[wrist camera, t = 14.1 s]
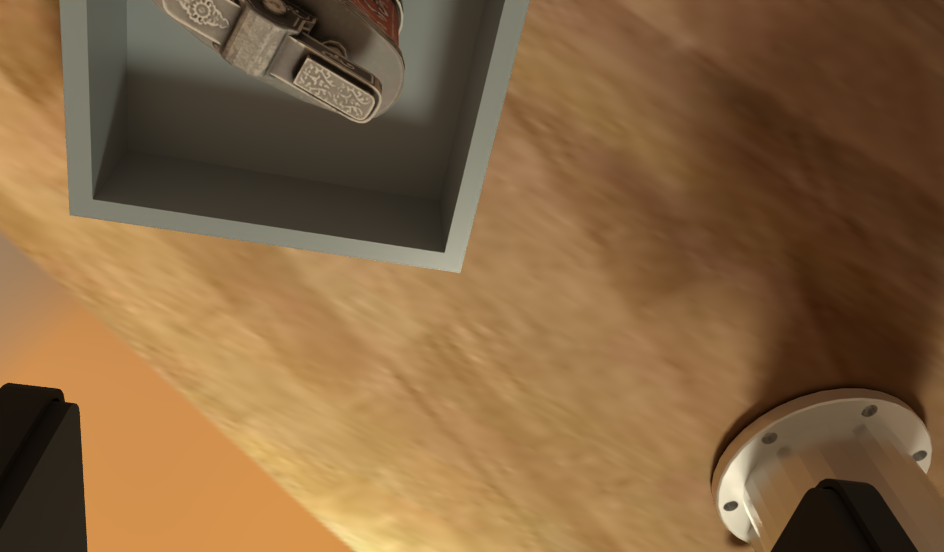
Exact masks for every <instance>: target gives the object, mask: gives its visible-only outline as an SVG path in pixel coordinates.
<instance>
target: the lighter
mask: <svg viewBox="0 0 944 552" xmlns="http://www.w3.org/2000/svg"><path fill="white" fill-rule="evenodd" d="M151 1H152V2H153V3H154V4H155V5H156V6H157V7H158V8H159V9H160V10H162V11H163V12H164V13H165V14H167V15H168V16H169V17H170V18H172V19H173V20H174V21H175V22H177V23H178V24H179V25H180V26H181V27H183V28H184V29H185V30H186V31H188V32H189V33H190V34H191V35H193V36H194V37H195V38H196V39H198V40H199V41H200V42H201V43H202V44H204V45H206V46H207V47H209V48H210V49H212V50H213V51H215V52H216V53H218V54H219V55H221V56H222V57H223V59H224V60H226V61H227V62H228V63H229V64H231V65H232V66H234V67H235V68H237V69H239V70H241V71H242V72H244V73H246V74H248V75H251V76H253V77H255V78H257V79H259V80H262V81H264V82H266V83H268V84H270V85H272V86H274V87H276V88H278V89H280V90H282V91H284V92H286V93H288V94H290V95H292V96H294V97H296V98H298V99H300V100H303V101H305V102H308V103H311V104H314V105H316V106H319V107H322V108H325V109H328V110H330V111H333V112H336V113H339V114H341V115H343V116H345V117H346V118H348V119H350V120H352V121H354V122H357V123H366V122H368V121H370V120H371V119H372V118H375V117H378V116H379V115H381V114H383V113H384V112H386V111H388V110H389V109H390V108H391V107H392V106H393V104H394V103H395V102H396V101H397V100H398V98H399V96H400V94H401V91H402V89H403V87H404V78H405V63H404V59H403V55H402V51H401V50H400V48H399V34H400V31H401V29H402V26H403V6H402V2H401V0H151Z"/></svg>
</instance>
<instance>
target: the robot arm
mask: <svg viewBox="0 0 944 552" xmlns="http://www.w3.org/2000/svg"><path fill="white" fill-rule="evenodd" d="M80 430H81V429H80V412H79V407H78V405H77V404H75V403H67V402H65V400H64V395H63V392H62V391H61V390H60V389H55V388H47V387H39V386H29V385H22V384H13V383H7V384H5V385H3V386H2V387H1V388H0V552H87V535H86V517H85V500H84V483H83V464H82V447H81V431H80ZM931 458H932V442H931V437H930V433H929V432H928V430H927V428H926V426H925V425H924V423H923V421H922V420H921V419H920V418H919V417H918V415H917V414H916V413H915V412H914V411H913V410H912V408H911V407H910V406H908V405H907V404H905V403H904V402H903V401H901V400H900V399H898V398H896V397H894V396H891V395H889V394H886V393H884V392H880V391H875V390H869V389H863V388H841V389H834V390H827V391H820V392H816V393H813V394H809V395H806V396H802V397H799V398H796V399H794V400H791V401H789V402H787V403H784V404H782V405H780V406H778V407H776V408H774V409H772V410H771V411H769V412H767V413H766V414H764V415H762V416H760V417H759V418H758V419H756V420H755V421H754V422H753V423H751V424H750V425H749V426H747V427H746V428H745V429H744V430H743V431H742V432H741V433H740V434H739V435H738V436H737V437H736V438H735V439H734V440H733V441H732V442H731V443H730V444H729V446H728V447H727V449H726V450H725V452H724V453H723V455H722V456H721V458H720V459H719V462H718V464H717V466H716V469H715V471H714V474H713V481H712V487H711V488H712V496H713V502H714V504H715V507H716V509H717V512H718V514H719V517H720V519H721V520H722V522H723V523H724V525H725V526H726V528H727V529H728V530H729V531H730V532H732V533H733V534H734V535H735V536H736V537H737V538H739V539H741V540H743V541H745V542H747V543H749V544H751V545H752V546H753V548H754V550H755V552H944V498H943V496H942V495H941V494H940V492H939V491H938V490H937V488H936V487H935V486H934V484H933V483H932V482H931V480H930V479H929V478H928V476H927V475H926V474H927V472H928V469H929V466H930V463H931Z"/></svg>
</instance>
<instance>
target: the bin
mask: <svg viewBox="0 0 944 552" xmlns="http://www.w3.org/2000/svg"><path fill="white" fill-rule="evenodd" d="M529 1H530V0H401V2H402V6H403V26H402V29H401V31H400V34H399V48H400V50H401V51H402V55H403V59H404V63H405V78H404V87H403V89H402V91H401V94H400V96H399V98H398V100H397V101H396V102H395V103H394V104H393V106H392V107H391V108H390V109H389V110H388V111H386V112H384V113H383V114H381V115H379V116H378V117H375V118H372V119H371V120H370V121H368V122H366V123H357V122H354V121H352V120H350V119H348V118H346V117H345V116H343V115H341V114H339V113H336V112H333V111H330V110H328V109H325V108H322V107H319V106H316V105H314V104H311V103H308V102H305V101H303V100H300V99H298V98H296V97H294V96H292V95H290V94H288V93H286V92H284V91H282V90H280V89H278V88H276V87H274V86H272V85H270V84H268V83H266V82H264V81H262V80H259V79H257V78H255V77H253V76H251V75H248V74H246V73H244V72H242V71H241V70H239V69H237V68H235V67H234V66H232V65H231V64H229V63H228V62H227V61H226V60H224V59H223V57H222V56H221V55H219V54H218V53H216V52H215V51H213V50H212V49H210V48H209V47H207V46H206V45H204V44H202V43H201V42H200V41H199V40H198V39H196V38H195V37H194V36H193V35H191V34H190V33H189V32H188V31H186V30H185V29H184V28H183V27H181V26H180V25H179V24H178V23H177V22H175V21H174V20H173V19H172V18H170V17H169V16H168V15H167V14H165V13H164V12H163V11H162V10H160V9H159V8H158V7H157V6H156V5H155V4H154V3H153V2H152V1H151V0H59V3H60V24H61V44H62V65H63V86H64V106H65V127H66V148H67V168H68V189H69V210H70V215H72V216H79V217H86V218H93V219H99V220H106V221H113V222H120V223H126V224H133V225H140V226H146V227H153V228H160V229H167V230H173V231H180V232H187V233H194V234H200V235H207V236H214V237H221V238H227V239H234V240H241V241H248V242H254V243H261V244H268V245H275V246H281V247H288V248H295V249H302V250H308V251H315V252H322V253H329V254H335V255H342V256H349V257H356V258H362V259H369V260H376V261H383V262H389V263H396V264H403V265H410V266H416V267H423V268H430V269H437V270H443V271H450V272H457V273H460V271H461V268H462V264H463V260H464V256H465V252H466V248H467V244H468V240H469V236H470V232H471V228H472V224H473V221H474V217H475V213H476V209H477V205H478V201H479V197H480V193H481V189H482V185H483V181H484V177H485V174H486V170H487V166H488V162H489V158H490V154H491V150H492V146H493V142H494V138H495V134H496V131H497V127H498V123H499V119H500V115H501V111H502V107H503V103H504V99H505V95H506V91H507V87H508V84H509V80H510V76H511V72H512V68H513V64H514V60H515V56H516V52H517V48H518V44H519V40H520V37H521V33H522V29H523V25H524V21H525V17H526V13H527V9H528V5H529Z"/></svg>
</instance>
